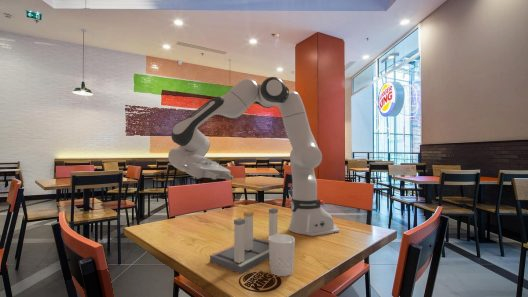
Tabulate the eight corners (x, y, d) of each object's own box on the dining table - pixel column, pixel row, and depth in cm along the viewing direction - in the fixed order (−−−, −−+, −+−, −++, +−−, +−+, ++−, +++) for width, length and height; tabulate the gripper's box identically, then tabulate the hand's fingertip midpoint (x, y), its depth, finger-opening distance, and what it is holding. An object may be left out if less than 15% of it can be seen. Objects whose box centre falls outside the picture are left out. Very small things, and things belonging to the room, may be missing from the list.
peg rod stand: (210, 261, 85) (210, 215, 85) (253, 242, 102) (253, 204, 102) (240, 273, 77) (241, 222, 77) (281, 250, 94) (282, 209, 94)
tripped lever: (243, 249, 89) (243, 212, 89) (248, 247, 91) (248, 211, 91) (248, 250, 88) (248, 213, 88) (253, 248, 90) (253, 211, 90)
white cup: (279, 280, 73) (279, 244, 73) (263, 270, 79) (263, 237, 79) (300, 273, 77) (300, 239, 77) (283, 263, 84) (283, 232, 84)
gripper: (181, 156, 96) (208, 167, 89) (217, 161, 114) (241, 171, 107) (176, 172, 97) (202, 185, 90) (212, 175, 114) (237, 186, 107)
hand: (224, 177), depth 98 cm, fingers open, 8 cm apart
